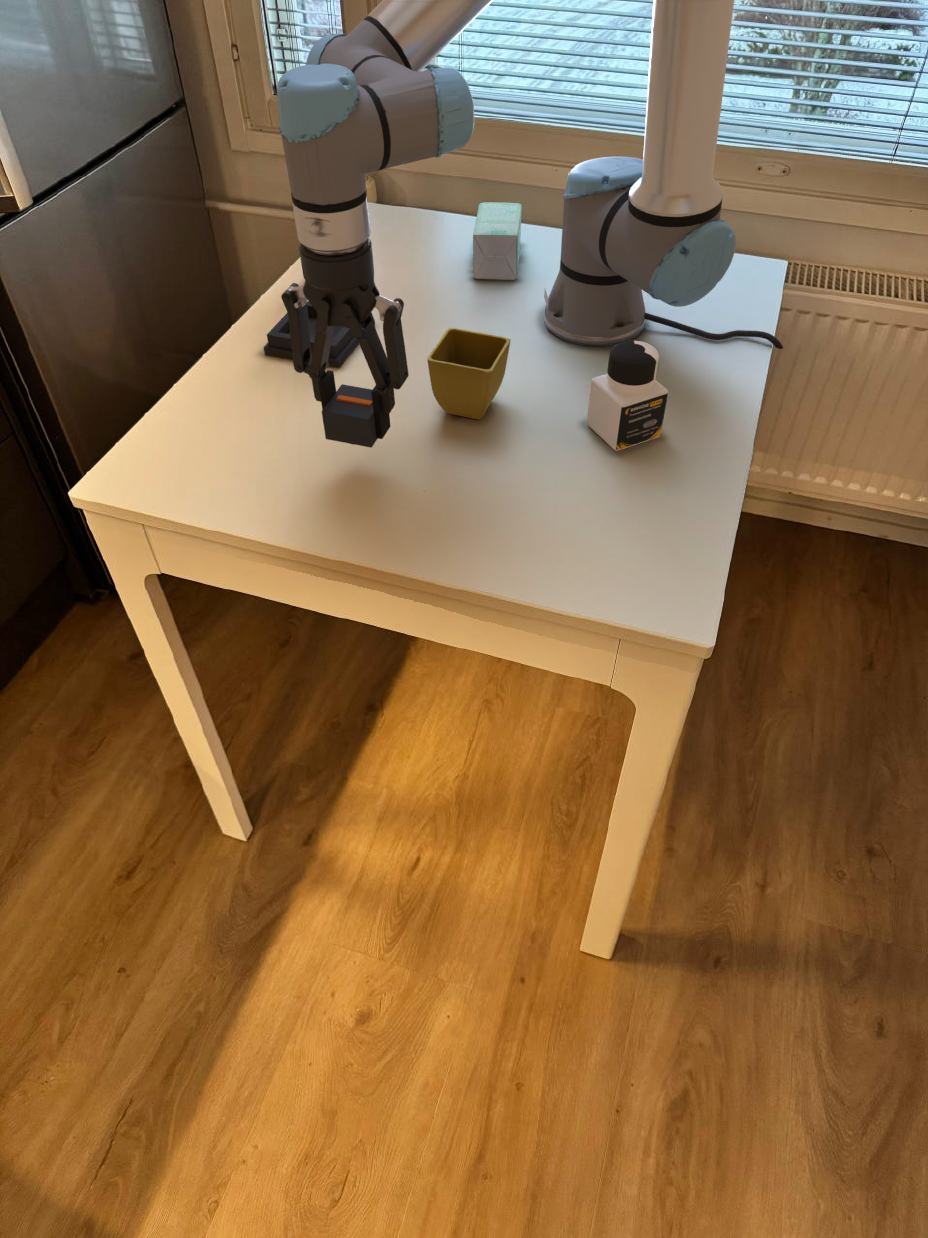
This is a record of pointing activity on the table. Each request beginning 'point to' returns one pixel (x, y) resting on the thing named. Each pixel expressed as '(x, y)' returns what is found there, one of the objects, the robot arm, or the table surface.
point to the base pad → (282, 345)
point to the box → (497, 241)
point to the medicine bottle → (628, 397)
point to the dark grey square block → (350, 416)
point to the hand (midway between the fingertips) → (357, 427)
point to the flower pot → (467, 371)
